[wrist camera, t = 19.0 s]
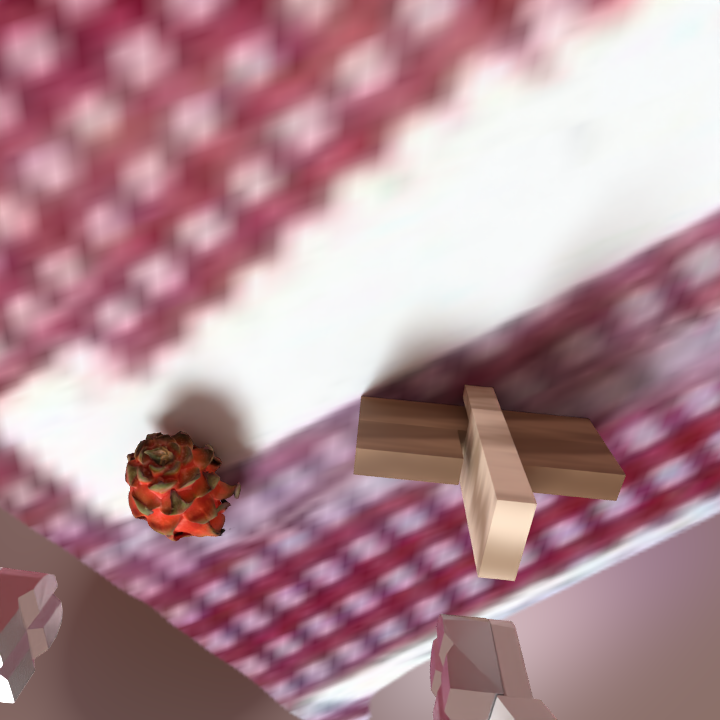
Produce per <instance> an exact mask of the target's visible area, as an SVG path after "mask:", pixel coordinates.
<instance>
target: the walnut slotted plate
mask: <svg viewBox="0 0 720 720" xmlns="http://www.w3.org/2000/svg"><path fill="white" fill-rule="evenodd" d="M502 413H503V416H504V418H505V421H506V424H507V426H508V429H509V432H510V434H511V437H512V439H513V442H514V445H515V447H516V450H517V453H518V455H519V458H520V461H521V463H522V466H523V469H524V471H525V474H526V476H527V479H528V482H529V484H530V487H531V490H532V492H534V493H544V494H554V495H564V496H574V497H584V498H593V499H603V500H613V501H616V500H617V497H618V495H619V492H620V489H621V487H622V484H623V481H624V478H625V476H626V475H625V473H624V472H623V470H622V469H621V467H620V466H619V464H618V463H617V461H616V460H615V458H614V457H613V455H612V453H611V452H610V450H609V449H608V447H607V446H606V444H605V443H604V441H603V440H602V438H601V437H600V435H599V434H598V432H597V431H596V429H595V427H594V426H593V424H592V423H591V421H590V420H589V419H587V418H577V417H567V416H556V415H546V414H536V413H526V412H516V411H506V410H502ZM468 424H469V419H468V416H467V412H466V408H465V406H456V405H446V404H436V403H426V402H416V401H406V400H395V399H385V398H375V397H365V396H361V404H360V414H359V424H358V434H357V445H356V455H355V465H354V474H355V475H365V476H375V477H385V478H395V479H405V480H415V481H425V482H435V483H444V484H454V485H458V484H459V479H460V475H461V470H462V465H463V460H464V458H463V448H464V443H465V438H466V433H467V428H468Z"/></svg>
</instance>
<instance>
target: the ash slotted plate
mask: <svg viewBox="0 0 720 720" xmlns="http://www.w3.org/2000/svg"><path fill="white" fill-rule="evenodd" d="M463 400H464V404H465V408H466V412H467V416H468V419H469V424H468V428H467V433H466V438H465V443H464V448H463V458H464V460H463V465H462V470H461V475H460V479H459V480H460V485H461V491H462V496H463V501H464V506H465V511H466V517H467V522H468V527H469V532H470V537H471V543H472V548H473V553H474V558H475V563H476V569H477V574H478V577H482V578H492V579H502V580H511V581H515V578H516V575H517V571H518V568H519V564H520V561H521V557H522V554H523V550H524V547H525V543H526V540H527V536H528V533H529V530H530V526H531V523H532V519H533V516H534V512H535V509H536V505H537V503H536V500H535V498H534V495H533V492H532V490H531V487H530V484H529V482H528V479H527V476H526V474H525V471H524V469H523V466H522V463H521V461H520V458H519V455H518V453H517V450H516V447H515V445H514V442H513V439H512V437H511V434H510V432H509V429H508V426H507V424H506V421H505V418H504V416H503V413H502V410H501V408H500V405H499V403H498V400H497V397H496V395H495V392H494V389H493V388H491V387H481V386H471V385H465V388H464V393H463Z"/></svg>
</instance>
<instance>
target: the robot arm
mask: <svg viewBox="0 0 720 720" xmlns="http://www.w3.org/2000/svg"><path fill="white" fill-rule="evenodd" d="M57 587H58V585H57V582H56V578H55V575H52V574H46V573H38V572H31V571H24V570H16V569H9V568H0V702H10V703H14V702H15V701H16V699H17V697H18V696H19V694H20V693H21V691H22V690H23V688H24V686H25V685H26V684H27V682H28V680H29V679H30V677H31V676H32V674H33V673H34V671H35V665H34V659H35V658H36V657H38V656H39V655H41V654H42V653H44V652H45V651H47V650H48V649H49V648H50V646H51V644H52V643H53V641H54V639H55V638H56V636H57V633H58V630H59V627H60V625H61V622H62V612H63V610H62V604H61V601H60V600H59V599H58V598H57V597H56V596H55V595H54V594H53V592H54V591H55V589H56V588H57ZM436 627H437V638H436V639H435V640H434V641H433V645H432V651H431V662H430V679H431V691H432V692H433V694H434V695H435V697H436V700H435V705H434V709H433V720H557V719H556V717H555V716H554V715H553V714H552V713H551V711H550V710H549V709H548V708H547V707H546V706H545V704H544V703H543V702H542V701H541V700H538V699H533V696H532V692H531V688H530V684H529V680H528V676H527V672H526V668H525V664H524V660H523V656H522V652H521V648H520V644H519V640H518V636H517V632H516V628H515V625H514V624H513V622H511V621H503V620H493V619H486V618H478V617H467V616H456V615H445V614H440V616H439V618H438V622H437V626H436Z"/></svg>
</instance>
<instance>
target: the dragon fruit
mask: <svg viewBox="0 0 720 720" xmlns="http://www.w3.org/2000/svg"><path fill="white" fill-rule="evenodd" d="M127 458H128V463H127V467H126V474H125V481H126V482H127V483H128V484H129V486H130V492H129V496H128V499H129V506H130V508H131V511H132V514H133V516H134V517H135V518H138V519H144V520H146V521H148V524H149V526H150V527H151V528H152V529H153V530H154V531H156V532H158V533H160V534H163V535H166V537H167V538H169V539H171V540H173V541H178V540H179V539H180V538H183V537H189V536H197V537H204V536H211V537H212V536H215V537H216V536H221V534H222V533H223V532H224V531H225V530H224V529H222V527H223V525H224V522H225V516H224V515H223V514H222V513H223V512H224V511H225V510H226V509H227V507H229V506H231V505H230V503H228V502H227V501H226V500H225V499H227V498H229V497H231V496H232V495H233V494H234V496H235V498H236V499H238V498H239V494H240V490H241V486H240V483H237V484H236V485H233V486H232V485H228V484H226V483H224V482H222V481H220V477H219V476H218V475H217V474H216V473H214V472H215V471H216V470H217V469H218V468H219V467H220V466H221V464H222V461H221V460H220V458H217V457H216V456H215V455H214V450H213V448H212V446H210V445H209V444H207V445H206V446H205V447H204V448H198V447H197V446H195V445H193V443H192V440H191V438H190V437H189V435H188V434H186V433H184V432H182V431H180V432H179V433H177V434H176V435H174V436H171V437H170V436H169V435H163V434H162V433H153V434H148V435H147V437H146V440H143V441H140V443H139V444H138V446H137V448H136V450H135V453H132V454H128V455H127ZM220 500H221V502H222V504H221V502H220Z"/></svg>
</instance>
